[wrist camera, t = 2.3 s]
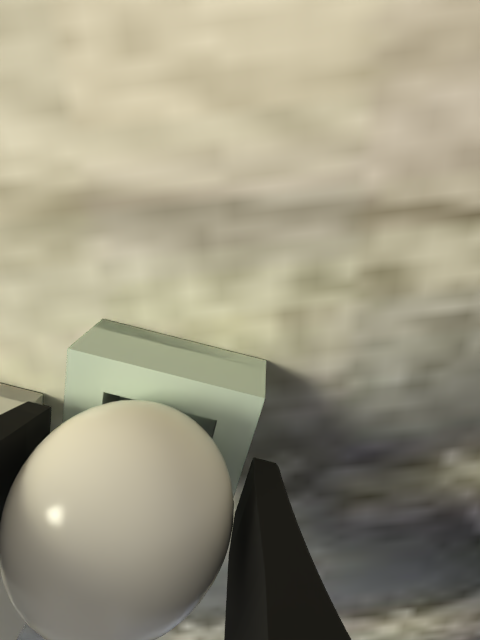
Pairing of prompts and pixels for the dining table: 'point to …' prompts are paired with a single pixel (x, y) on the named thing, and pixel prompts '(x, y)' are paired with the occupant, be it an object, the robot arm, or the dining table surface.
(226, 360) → the mint square frame
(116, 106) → the dining table surface
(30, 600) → the cream egg
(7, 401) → the carton
